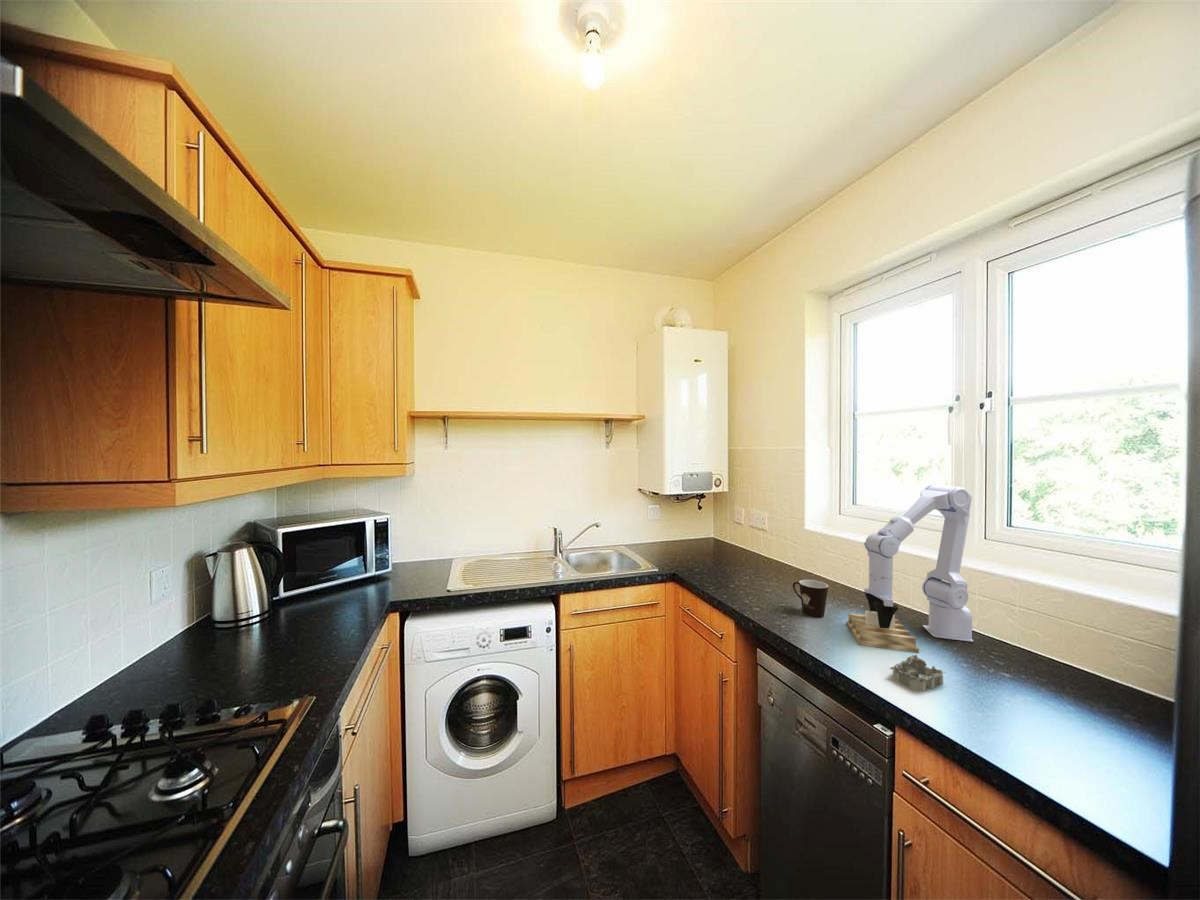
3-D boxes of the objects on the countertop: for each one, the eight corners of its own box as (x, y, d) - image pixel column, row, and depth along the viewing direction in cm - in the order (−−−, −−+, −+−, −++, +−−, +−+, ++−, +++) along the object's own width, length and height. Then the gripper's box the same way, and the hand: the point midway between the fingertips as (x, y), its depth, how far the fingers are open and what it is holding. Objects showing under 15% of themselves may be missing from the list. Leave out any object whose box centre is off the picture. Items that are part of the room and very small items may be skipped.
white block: (892, 634, 122) (893, 613, 122) (894, 636, 120) (895, 615, 120) (865, 630, 124) (865, 610, 124) (866, 633, 123) (867, 612, 123)
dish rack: (898, 630, 127) (898, 618, 127) (918, 652, 113) (919, 639, 113) (846, 623, 132) (846, 612, 132) (859, 644, 117) (859, 632, 117)
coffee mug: (833, 619, 135) (833, 588, 135) (806, 619, 135) (806, 587, 135) (815, 605, 146) (815, 577, 146) (790, 605, 146) (790, 576, 146)
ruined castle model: (915, 669, 105) (916, 653, 105) (950, 685, 98) (950, 668, 98) (886, 677, 101) (886, 660, 101) (919, 694, 94) (919, 676, 94)
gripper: (858, 567, 130) (857, 611, 130) (872, 581, 117) (871, 630, 117) (884, 570, 128) (883, 614, 128) (902, 584, 114) (901, 634, 114)
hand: (879, 622), depth 122 cm, fingers open, 7 cm apart
